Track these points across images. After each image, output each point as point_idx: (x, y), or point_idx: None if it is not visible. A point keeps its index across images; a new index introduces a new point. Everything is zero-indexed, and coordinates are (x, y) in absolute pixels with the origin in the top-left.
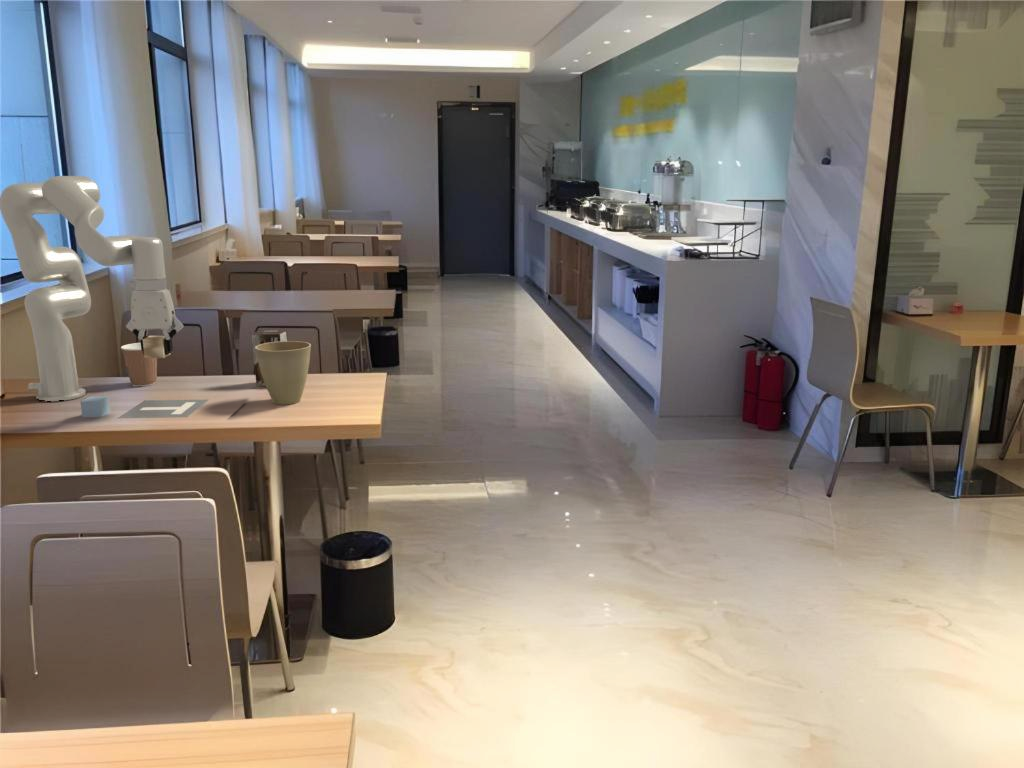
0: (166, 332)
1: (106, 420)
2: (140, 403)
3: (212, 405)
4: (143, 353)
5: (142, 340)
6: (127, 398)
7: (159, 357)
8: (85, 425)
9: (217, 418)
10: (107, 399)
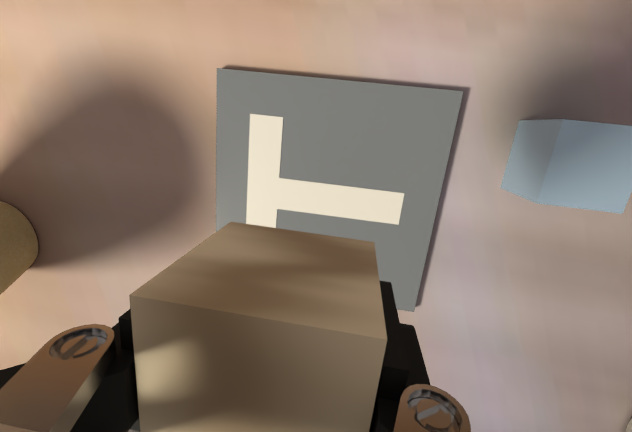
0: (9, 401)
1: (500, 102)
2: (419, 277)
3: (196, 233)
4: (388, 283)
5: (399, 363)
6: (478, 365)
7: (260, 228)
8: (571, 39)
9: (128, 71)
10: (533, 189)
